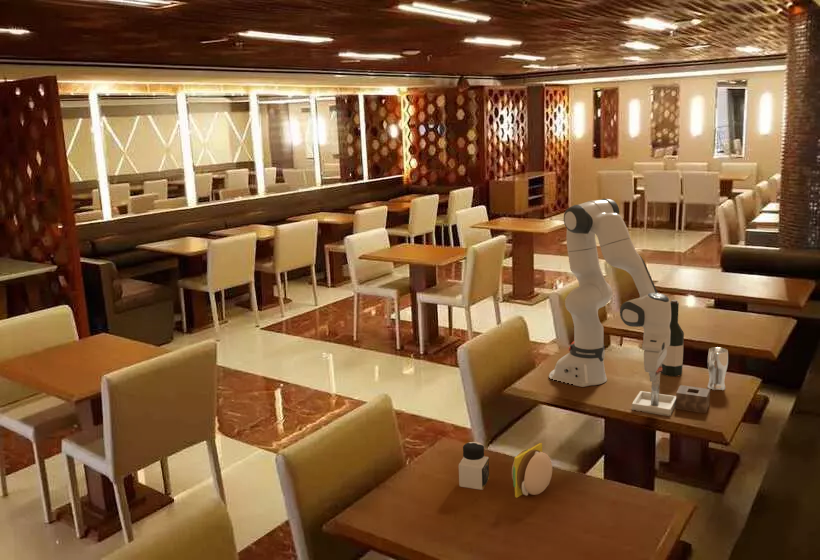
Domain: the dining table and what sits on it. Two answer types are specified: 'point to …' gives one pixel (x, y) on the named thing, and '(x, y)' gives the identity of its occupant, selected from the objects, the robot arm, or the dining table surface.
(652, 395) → the pin
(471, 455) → the medicine bottle
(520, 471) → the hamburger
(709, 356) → the beer glass
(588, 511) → the dining table surface
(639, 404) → the tray
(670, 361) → the wine bottle
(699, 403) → the block
